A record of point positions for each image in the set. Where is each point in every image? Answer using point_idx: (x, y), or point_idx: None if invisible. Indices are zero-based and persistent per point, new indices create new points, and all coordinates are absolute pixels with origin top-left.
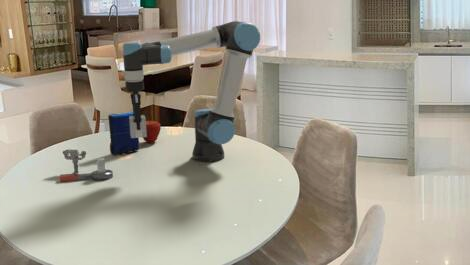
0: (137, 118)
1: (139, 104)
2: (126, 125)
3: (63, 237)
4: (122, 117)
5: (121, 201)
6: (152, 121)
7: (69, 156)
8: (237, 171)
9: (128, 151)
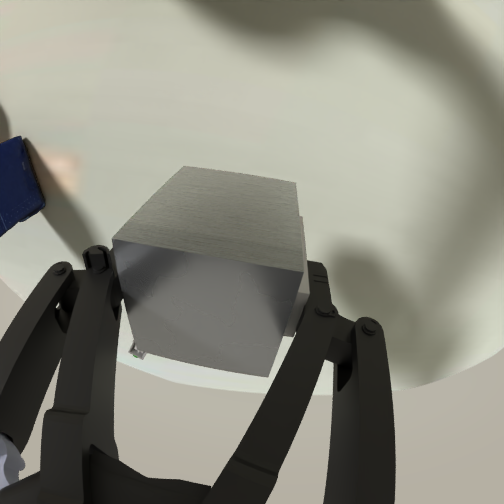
0: (266, 334)
1: (389, 497)
2: None
3: (475, 343)
4: None
5: (433, 258)
6: None
7: None
8: None
9: (30, 164)
